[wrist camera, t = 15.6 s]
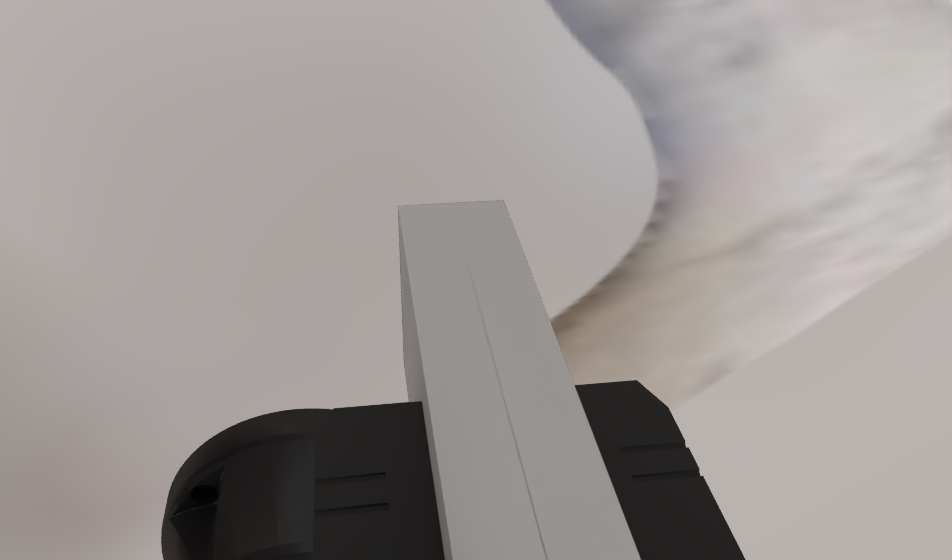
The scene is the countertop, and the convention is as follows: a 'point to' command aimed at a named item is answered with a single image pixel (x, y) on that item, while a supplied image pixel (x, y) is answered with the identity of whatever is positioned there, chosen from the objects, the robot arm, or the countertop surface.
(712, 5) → the countertop surface
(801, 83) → the countertop surface
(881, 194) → the countertop surface
